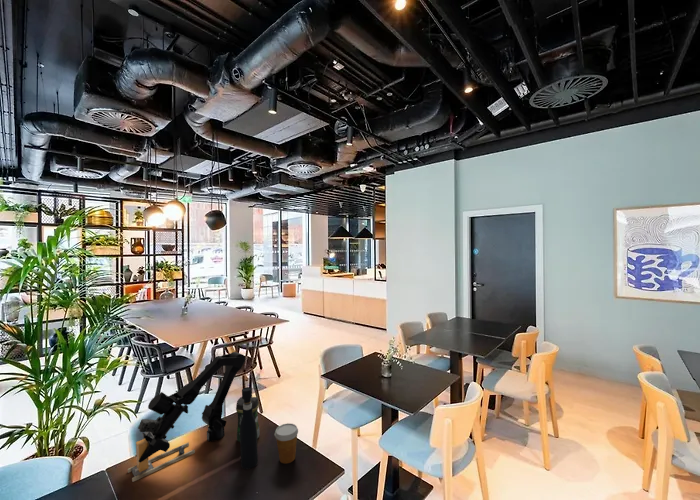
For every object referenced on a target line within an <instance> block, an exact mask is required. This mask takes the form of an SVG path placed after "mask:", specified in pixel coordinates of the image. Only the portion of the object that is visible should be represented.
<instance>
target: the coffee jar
mask: <svg viewBox="0 0 700 500" xmlns="http://www.w3.org/2000/svg"><path fill="white" fill-rule="evenodd" d="M250 399H251V404H252V409H253V416H254V418H255V421H256V426H257V440H258V438H259V437H260V424H259V417H258V415H259V414H258V413H259V411H258V410H259V407H260V405H259V404H260V403H259V398H258V396H252V397H251V398H250ZM243 404H244V399H242V396H240V397H239V398H238V400H237V401H236V404H235V405H236V407H235V411H236V414H237V430H236V431H237V432H236V441H237V442H238V443H240V425H241V421H242V417H243Z"/></svg>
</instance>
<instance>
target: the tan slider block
mask: <svg viewBox="0 0 700 500" xmlns="http://www.w3.org/2000/svg"><path fill="white" fill-rule="evenodd" d="M147 446H148V443H147V441H146V439H143V438H142V439H141V440H137V441H136V442H135V448H136V450H135V451H136V454H135V456H136V455H137V457H136V465H137V466H136V465H135V466H136V467H134V468H132V471H131V472H132V475H133V477H135V476H137V475H140V474H142V473H144V472H146V471H148V470H150V469H153V468H155V466H153V463H152V462H150V461H148V460H149V457H148V458H147V459H145V460H144V461H142V462H139V459H140V457H141V456H142V454H143V453H144V451H145V449H146V448H147Z"/></svg>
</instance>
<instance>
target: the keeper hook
mask: <svg viewBox="0 0 700 500" xmlns="http://www.w3.org/2000/svg"><path fill="white" fill-rule="evenodd" d="M181 445H182V446H181ZM181 445H179V446H180V447H179V446H178V447H179V448H177V447H176V448H177V450H178V455H179V456H181V455H183V454H185V448H184V446H183V444H181Z"/></svg>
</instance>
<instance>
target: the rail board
mask: <svg viewBox="0 0 700 500" xmlns="http://www.w3.org/2000/svg"><path fill="white" fill-rule="evenodd" d="M182 445H183V446H184V449H185V448H187V447H189V446H190V443H189V441H188V442H186V443H184V444H183V443H182V444H180V445H179V446H177V447H175V448H172V449H170V450H167V451H166V452H163V453H160V454H158V455H156V456H154V457H151V458H148V461H150V462H151V463H154V462H155V461H158V460H160V459H162V458H165V457H168V456H169V455H171V454H173V453H175V452H179V450H177V448H179V447H180V446H182ZM195 453H196V450H195V448H194V449H192V450H189V451H187V452H184V454H182V455H179V456H176V457H174V458H172V459H170V460H168V461H166V462H164V463H162V464H159V465H157V466H154V468H153V469H150V470H148V471H146V472H144V473H142V474H140V475H137V476H135V477H134V476H133V477H132V478H131V481H132V482H136V481H138V480H140V479H142V478H144V477H146V476H149V475H151V474H153V473H154V472H157V471H159V470H161V469H164V468H166V467H167V466H169V465H173V464H174V463H176V462H178V461H180V460H183V459H185V458H187V457H189V456H191V455H194V454H195ZM136 466H137V464H136V465H134V466H131V467H128V468H127V473H131V472H132V468H134V467H136Z"/></svg>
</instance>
